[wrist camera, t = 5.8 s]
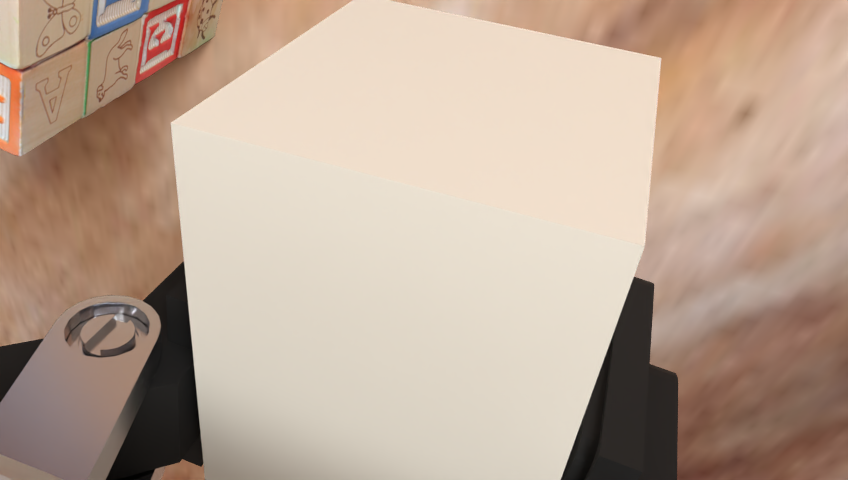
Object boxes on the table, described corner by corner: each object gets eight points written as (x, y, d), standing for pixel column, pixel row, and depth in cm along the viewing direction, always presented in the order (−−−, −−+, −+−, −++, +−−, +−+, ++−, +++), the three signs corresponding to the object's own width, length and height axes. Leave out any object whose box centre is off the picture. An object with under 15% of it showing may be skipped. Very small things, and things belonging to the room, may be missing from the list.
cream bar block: (660, 58, 10) (643, 245, 6) (532, 464, 15) (476, 712, 11) (361, -5, 11) (170, 123, 7) (335, 401, 16) (217, 611, 12)
